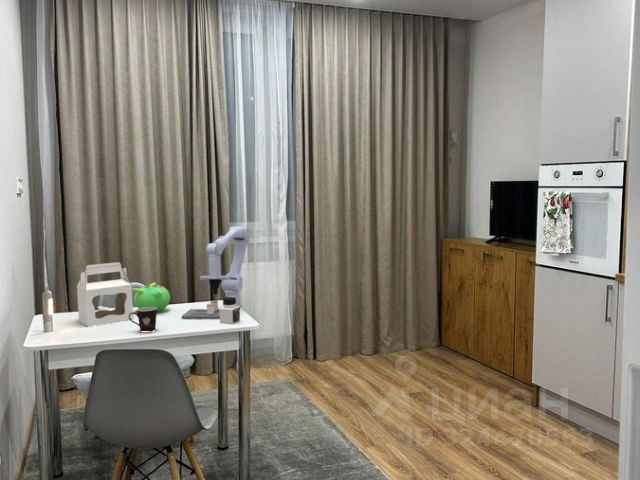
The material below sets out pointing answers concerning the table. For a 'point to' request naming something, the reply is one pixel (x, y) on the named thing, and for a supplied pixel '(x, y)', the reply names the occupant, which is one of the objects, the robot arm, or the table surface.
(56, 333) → the table surface
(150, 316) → the coffee mug
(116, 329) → the table surface
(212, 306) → the breaker
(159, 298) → the green teapot
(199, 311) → the plate
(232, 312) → the medicine bottle
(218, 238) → the robot arm
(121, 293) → the gable box
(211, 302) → the breaker
